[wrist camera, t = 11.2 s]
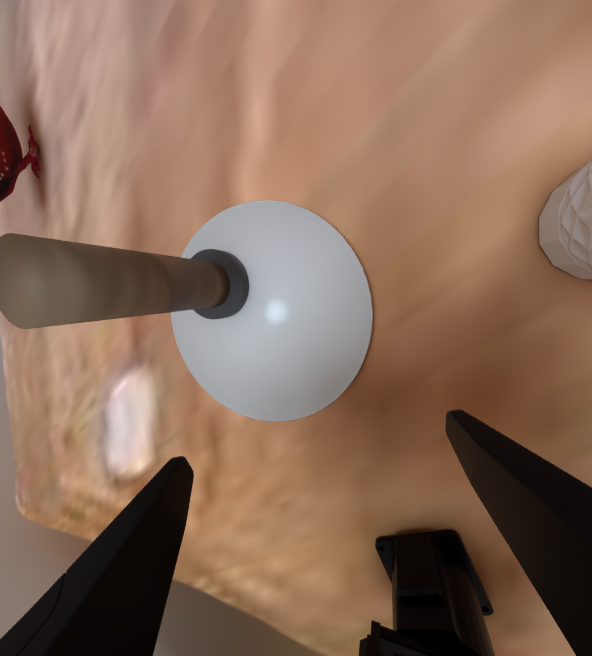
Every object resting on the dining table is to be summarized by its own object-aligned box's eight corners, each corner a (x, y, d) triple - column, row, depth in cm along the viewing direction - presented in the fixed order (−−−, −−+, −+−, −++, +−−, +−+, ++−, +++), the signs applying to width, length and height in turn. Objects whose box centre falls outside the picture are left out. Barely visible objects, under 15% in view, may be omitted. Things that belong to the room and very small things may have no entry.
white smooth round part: (413, 377, 19) (415, 382, 18) (227, 437, 26) (221, 443, 25) (310, 154, 19) (306, 147, 18) (150, 270, 26) (141, 269, 25)
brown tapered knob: (259, 300, 21) (88, 319, 9) (209, 328, 23) (13, 373, 11) (231, 238, 21) (21, 172, 9) (183, 270, 23) (-42, 252, 11)
